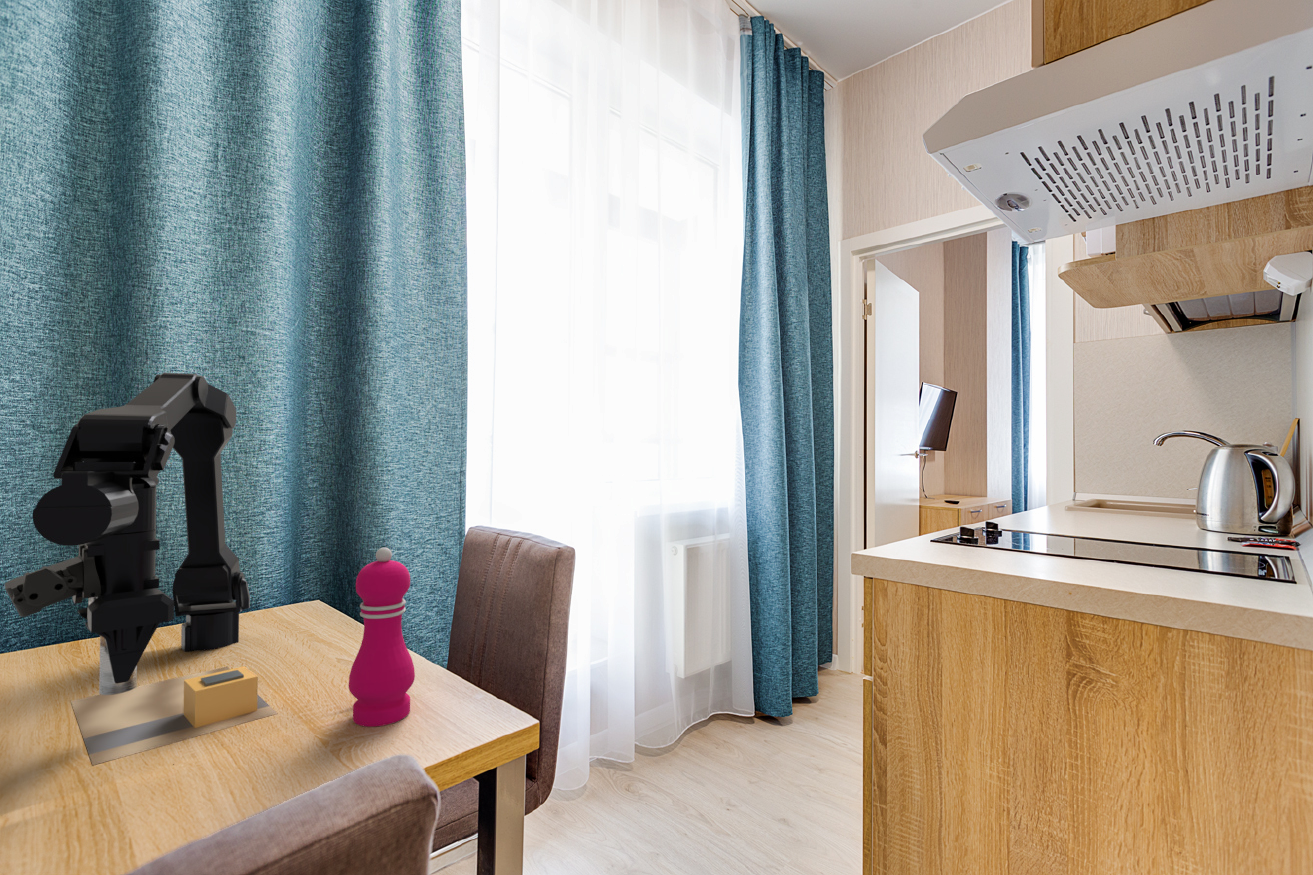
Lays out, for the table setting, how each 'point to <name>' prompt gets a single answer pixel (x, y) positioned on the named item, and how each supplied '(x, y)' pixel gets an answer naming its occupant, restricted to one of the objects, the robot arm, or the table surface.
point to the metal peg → (106, 676)
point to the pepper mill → (382, 645)
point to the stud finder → (220, 696)
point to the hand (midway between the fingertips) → (119, 677)
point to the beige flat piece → (145, 719)
